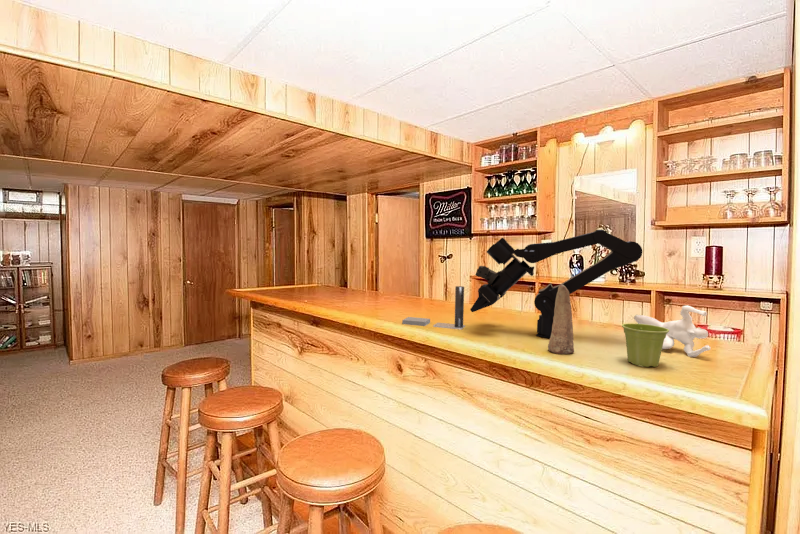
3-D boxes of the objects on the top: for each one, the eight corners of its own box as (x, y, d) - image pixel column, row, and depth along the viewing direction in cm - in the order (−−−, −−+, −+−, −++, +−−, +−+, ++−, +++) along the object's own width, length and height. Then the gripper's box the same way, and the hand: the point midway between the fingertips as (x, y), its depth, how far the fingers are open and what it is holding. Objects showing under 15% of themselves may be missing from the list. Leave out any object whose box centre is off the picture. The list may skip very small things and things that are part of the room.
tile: (430, 318, 137) (408, 316, 140) (425, 322, 131) (402, 320, 134) (430, 323, 137) (408, 321, 140) (424, 327, 131) (402, 325, 134)
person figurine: (623, 307, 108) (705, 303, 97) (632, 312, 118) (707, 308, 107) (628, 356, 106) (714, 357, 95) (637, 356, 115) (715, 357, 104)
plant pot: (624, 355, 100) (625, 321, 99) (669, 363, 94) (671, 327, 93) (616, 363, 92) (618, 327, 92) (664, 372, 86) (666, 333, 86)
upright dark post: (465, 326, 132) (466, 286, 131) (461, 329, 127) (462, 287, 126) (437, 323, 135) (438, 284, 134) (433, 326, 131) (434, 286, 130)
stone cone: (543, 353, 103) (565, 359, 98) (541, 286, 100) (563, 289, 95) (557, 346, 107) (579, 352, 102) (556, 281, 104) (578, 284, 99)
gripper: (496, 256, 133) (463, 287, 138) (485, 257, 116) (449, 293, 121) (520, 280, 130) (486, 311, 135) (513, 285, 113) (474, 321, 118)
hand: (474, 308), depth 127 cm, fingers open, 9 cm apart
